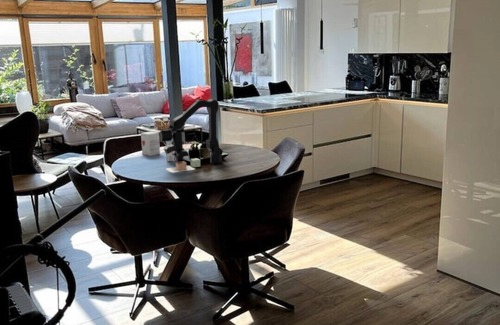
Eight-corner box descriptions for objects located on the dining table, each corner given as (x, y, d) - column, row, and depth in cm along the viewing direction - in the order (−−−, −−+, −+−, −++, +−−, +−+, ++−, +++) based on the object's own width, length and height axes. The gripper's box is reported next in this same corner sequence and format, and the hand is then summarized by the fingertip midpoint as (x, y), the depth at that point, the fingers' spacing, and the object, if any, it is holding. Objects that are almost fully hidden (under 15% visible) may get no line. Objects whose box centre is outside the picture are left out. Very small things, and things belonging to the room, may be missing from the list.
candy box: (175, 162, 299) (173, 136, 295) (166, 161, 300) (164, 136, 296) (182, 157, 312) (181, 132, 308) (174, 157, 313) (172, 132, 309)
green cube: (197, 165, 289) (197, 158, 288) (200, 166, 285) (200, 159, 284) (190, 166, 287) (190, 159, 286) (193, 167, 283) (193, 160, 282)
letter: (188, 165, 288) (188, 165, 288) (195, 169, 279) (195, 169, 278) (165, 169, 281) (165, 168, 281) (171, 173, 272) (171, 172, 272)
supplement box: (141, 154, 323) (140, 132, 319) (152, 152, 330) (150, 131, 326) (150, 156, 317) (148, 134, 314) (160, 153, 324) (159, 132, 320)
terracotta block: (183, 167, 283) (183, 161, 282) (186, 169, 278) (186, 162, 278) (175, 168, 281) (175, 162, 280) (178, 170, 276) (178, 163, 275)
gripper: (159, 138, 283) (161, 163, 287) (169, 144, 267) (171, 170, 271) (177, 137, 288) (178, 161, 292) (188, 142, 272) (189, 168, 276)
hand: (178, 165), depth 283 cm, fingers closed
